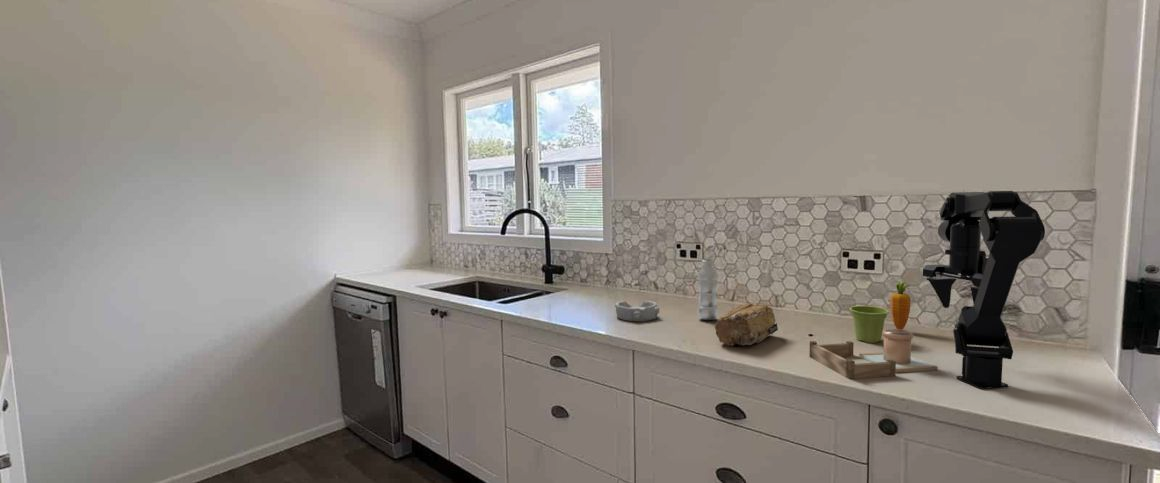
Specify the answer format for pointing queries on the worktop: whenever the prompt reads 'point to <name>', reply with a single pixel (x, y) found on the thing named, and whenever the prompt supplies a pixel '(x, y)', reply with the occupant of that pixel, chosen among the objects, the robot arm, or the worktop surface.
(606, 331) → the worktop surface
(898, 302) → the carrot
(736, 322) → the petrified wood
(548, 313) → the worktop surface
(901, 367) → the lid pane
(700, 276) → the plastic bottle
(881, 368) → the frame
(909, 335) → the terracotta pot
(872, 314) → the plant pot
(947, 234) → the robot arm
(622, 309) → the dish
